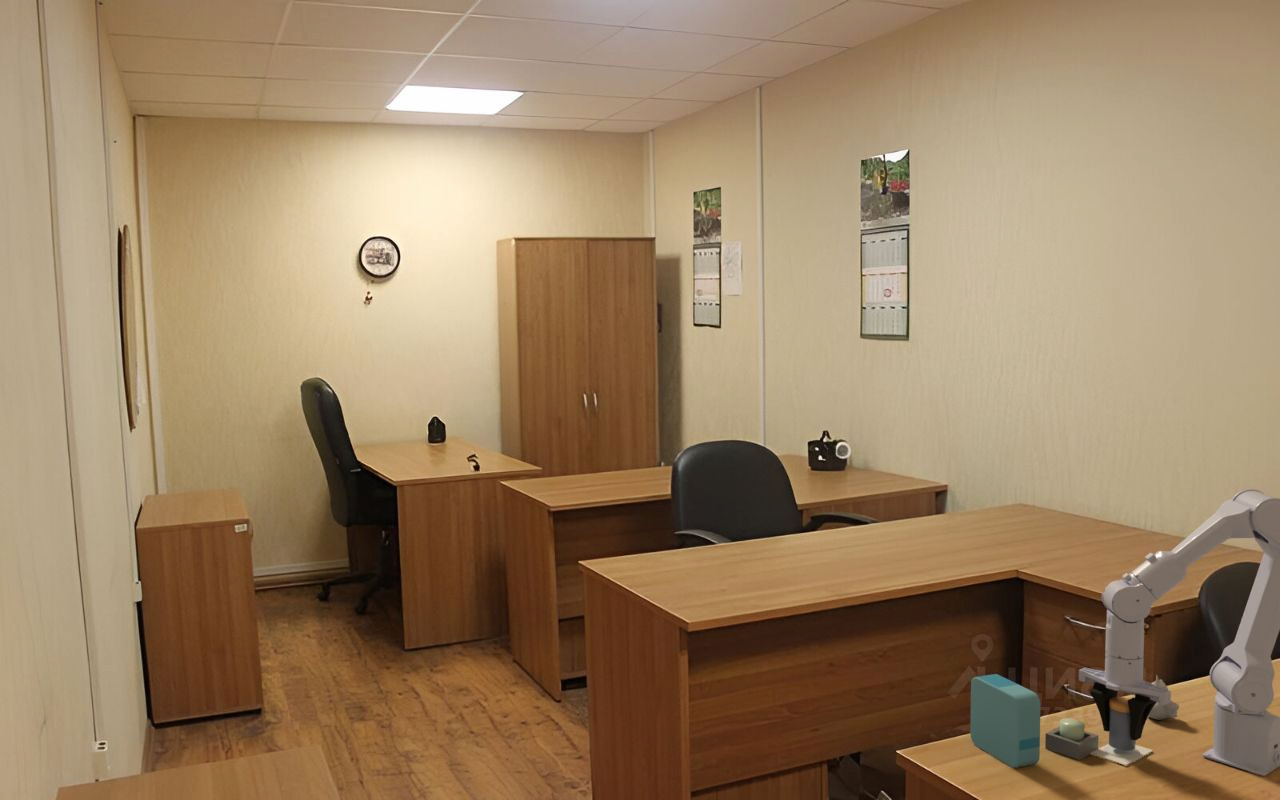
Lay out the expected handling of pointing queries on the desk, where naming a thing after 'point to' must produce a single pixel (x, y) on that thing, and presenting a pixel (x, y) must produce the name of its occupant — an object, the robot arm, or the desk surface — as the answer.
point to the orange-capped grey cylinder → (1120, 724)
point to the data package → (1005, 720)
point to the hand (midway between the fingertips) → (1122, 734)
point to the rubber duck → (1163, 710)
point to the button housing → (1071, 744)
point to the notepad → (1121, 754)
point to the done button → (1072, 729)
